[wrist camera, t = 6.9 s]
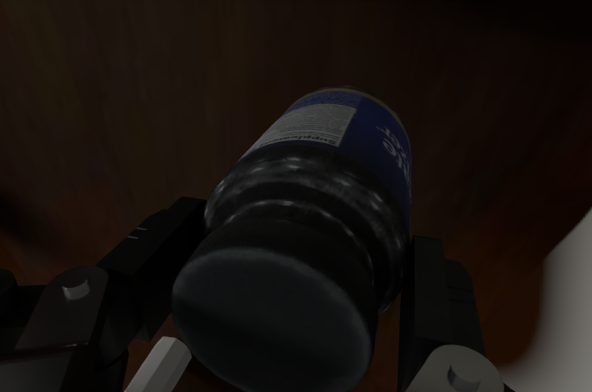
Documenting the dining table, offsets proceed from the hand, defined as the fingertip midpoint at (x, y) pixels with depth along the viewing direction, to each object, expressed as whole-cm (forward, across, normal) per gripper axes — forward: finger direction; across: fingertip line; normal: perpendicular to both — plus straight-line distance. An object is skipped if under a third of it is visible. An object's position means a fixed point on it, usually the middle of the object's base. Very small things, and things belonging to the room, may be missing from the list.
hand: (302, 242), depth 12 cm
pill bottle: (+8, 0, 0) cm, 8 cm away
